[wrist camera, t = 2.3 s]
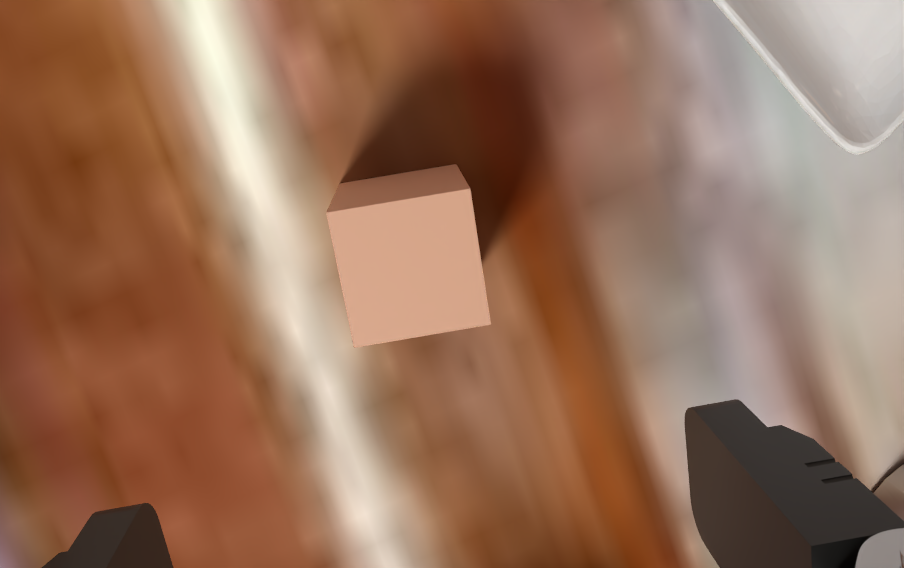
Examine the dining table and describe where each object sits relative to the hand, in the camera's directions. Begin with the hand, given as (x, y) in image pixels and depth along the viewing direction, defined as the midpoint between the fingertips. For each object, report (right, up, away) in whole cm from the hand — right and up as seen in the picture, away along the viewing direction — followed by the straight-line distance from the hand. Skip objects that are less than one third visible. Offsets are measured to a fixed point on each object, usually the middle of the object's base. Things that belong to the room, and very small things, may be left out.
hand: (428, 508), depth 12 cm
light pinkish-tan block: (-1, +5, +19) cm, 20 cm away
